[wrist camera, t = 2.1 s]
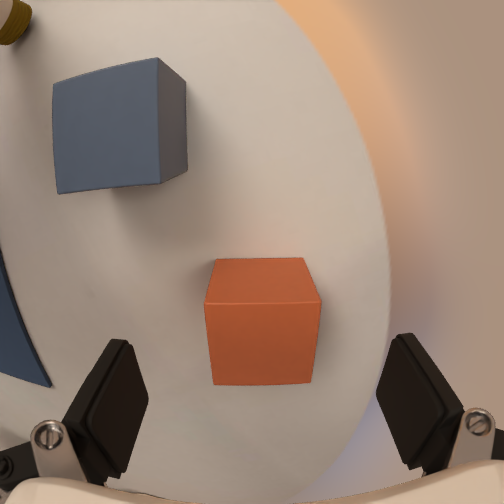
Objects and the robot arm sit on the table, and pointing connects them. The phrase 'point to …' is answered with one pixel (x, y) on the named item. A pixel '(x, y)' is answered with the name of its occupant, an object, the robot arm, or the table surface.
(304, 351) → the terracotta block
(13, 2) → the light bulb
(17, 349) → the navy blue mat
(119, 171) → the slate block
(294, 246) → the table surface
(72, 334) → the table surface
